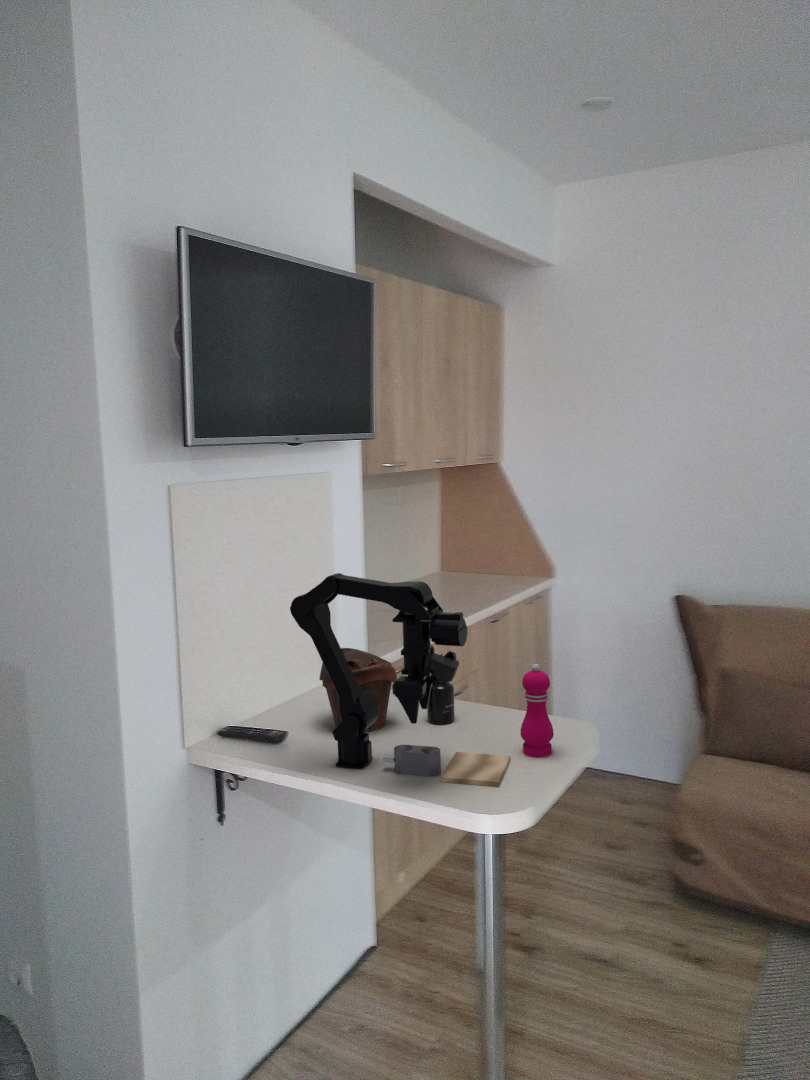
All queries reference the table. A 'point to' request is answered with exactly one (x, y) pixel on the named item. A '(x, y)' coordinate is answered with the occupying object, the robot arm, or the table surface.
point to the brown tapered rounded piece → (364, 682)
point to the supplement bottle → (441, 702)
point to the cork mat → (476, 769)
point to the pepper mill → (536, 714)
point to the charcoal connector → (415, 760)
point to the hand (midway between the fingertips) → (419, 715)
